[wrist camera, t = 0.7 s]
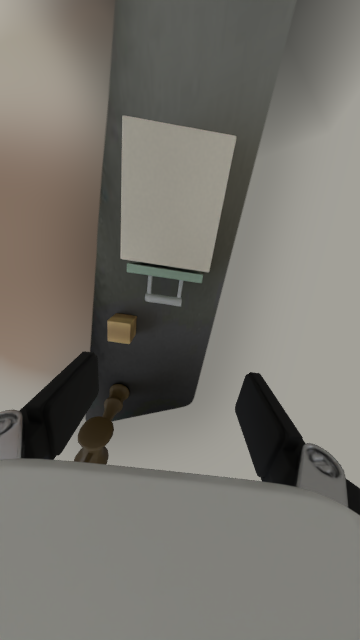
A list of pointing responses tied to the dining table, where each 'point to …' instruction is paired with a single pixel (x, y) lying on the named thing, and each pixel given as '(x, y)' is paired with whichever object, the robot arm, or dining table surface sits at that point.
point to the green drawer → (166, 273)
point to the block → (121, 328)
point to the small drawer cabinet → (172, 192)
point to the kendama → (100, 429)
